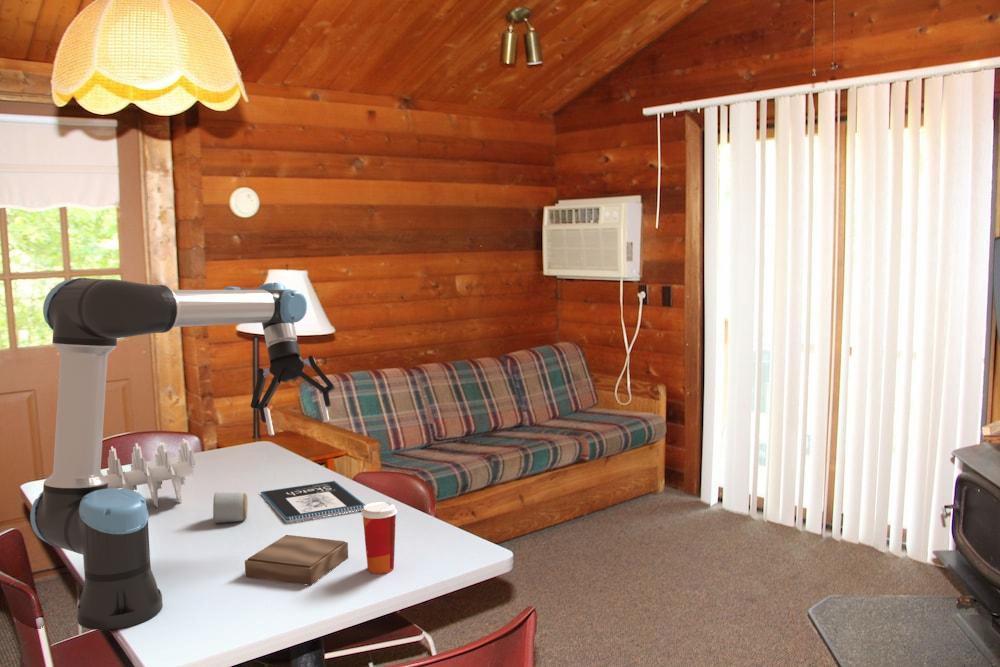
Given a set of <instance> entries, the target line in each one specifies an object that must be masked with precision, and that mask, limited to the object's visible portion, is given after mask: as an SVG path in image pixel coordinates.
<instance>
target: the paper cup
mask: <svg viewBox="0 0 1000 667" xmlns="http://www.w3.org/2000/svg"><path fill="white" fill-rule="evenodd" d="M397 513H398V509H396V506H395V504H392V503H390V502H386V501H378V502H371V503H370V502H369V503H367V504H365V506H364V507H363V511H361V512H360V515H361V516H362V522H363V531H364V542H365V543H364V544H365V555H366V564H367V572H369V573H370V574H373V575H384V574H388V573H390V572H392V571H394V568H395V567H394V566H395V550H396V549H395V545H396V517H397Z"/></svg>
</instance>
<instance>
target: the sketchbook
mask: <svg viewBox="0 0 1000 667" xmlns="http://www.w3.org/2000/svg"><path fill="white" fill-rule="evenodd" d="M260 495H262V497H263V498H264V499H265V500H266V501H267V503H268V502H269V503H268V504H269V505H270V506H271V507H272V508H273V510H274V509H275V510H274V511H275V512H276V513H277V514H278V515H279V517H280V518H281V517H282V518H283V519H284V520H283V519H282V518H281V519H282V520H283V521H284V522H285V524H287V523H288V524H290V525H292V523H293V522H294V524H297V523H298V522H297V521H299V523H300V522H301V523H303V522H305V521H306V522H307V521H309V520H310V519H311V520H310V521H314V519H313V518H317V519H319V518H320V517H322V518H323V519H324V518H325V517H326V516H328V515H332V517H333V515H334V514H335V515H336V514H338V515H339V513H341V514H342V513H344V512H345V513H346V512H348V513H347V514H350V513H349V511H351V512H352V511H354V512H355V511H356V510H357V511H358V510H360V511H361V510H362V509H363V507H364V506H365V505H366V504H365V503H364V502H363V501H361V500H360V499H359V498H358V497H356V496H355V495H353V494H352V493H351V492H349V490H347V489H345V488H344V487H343V486H341V484H339V483H338V482H336V481H335V480H332V481H326V482H316V483H312V484H304V485H303V484H302V485H298V486H292V487H291V486H290V487H283V488H277V489H271V490H264V491H263V490H262V491H261V492H260ZM360 511H359V512H360ZM354 512H353V513H354ZM361 512H362V511H361ZM355 513H356V512H355ZM338 515H336V516H338ZM342 515H343V514H342ZM323 516H325V517H323ZM339 516H340V515H339ZM318 517H319V518H318ZM322 518H320V519H322ZM326 518H327V517H326ZM307 519H309V520H307ZM303 520H305V521H303ZM291 522H292V523H291Z"/></svg>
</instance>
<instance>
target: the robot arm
mask: <svg viewBox="0 0 1000 667" xmlns="http://www.w3.org/2000/svg"><path fill="white" fill-rule="evenodd" d="M307 311H308V303H307V299H306V297H305V295H304V294H303V293H302V292H301V291H299V290H294V289H293V290H292V289H290V288H289V289H287V288H286V286H285V285H284V284H283V283H281V282H268V283H264V284H261V285H260V286H258V287H257V288H246V287H239V286H226V287H224V288H222V289H171V287H169V286H168V285H167V284H166V285H165V284H151V283H150V284H148V283H140V282H135V281H127V280H123V279H122V280H121V279H115V278H114V279H113V278H111V279H109V278H108V279H106V278H87V277H76V278H71V279H70V278H69V279H66V280H63V281H61V282H59V283H58V284H56V285H55V286H54V287H52V289H50V291H49V292H48V293H47V294H46V296H45V299H44V302H43V307H42V314H43V320H44V321H45V323H46V324H47V325H48V327H49V328H50V329H51V330H52V346H53V347H54V348H55V349H56V350H57V351H58V352H59V355H60V356H59V357H60V358H59V368H58V369H59V370H58V371H59V372H58V386H57V387H58V388H57V404H56V418H55V420H56V422H55V436H54V450H53V451H54V452H53V469H52V473H51V475H49V476H48V477H47V478H46V479H45V480H44V481H43V486H42V487H43V490H42V491H41V493H39V496H38V497H37V498H35V500H34V501H33V503H32V506H31V509H30V516H29V517H30V518H29V519H30V520H29V521H30V524H31V527H32V531H34V534H36V536H37V537H38V538H39V539H40V540H42V541H43V542H45V543H47V544H48V545H50V546H52V547H54V548H58V549H63V550H66V551H70V552H73V553H76V554H79V555H82V557H83V570H84V571H83V573H84V582H83V586H82V589H81V593H80V597H79V602H78V604H77V607H76V617H77V618H76V619H77V624H78V625H79V626H81V627H82V628H85V629H88V630H93V631H96V630H97V631H109V630H117V629H118V630H119V629H123V628H127V627H131V626H136V625H138V624H141V623H143V622H146V621H148V620H150V619H152V618H154V617H155V616H157V615H158V614H159V613H160V612H161V611H162V608H163V606H164V605H163V593H162V591H161V589H160V588H158V585H157V581H156V578H155V575H154V573H153V571H152V566H151V552H150V551H151V549H150V534H149V532H150V531H149V517H150V516H149V511H148V506H147V501H146V498H145V497H144V496H143V495H142V494H141V493H140V492H138V491H137V490H129V489H123V488H119V489H117V488H108V480H107V479H106V478H105V477H104V476H105V475H104V474H102V472H101V471H102V470H101V469H102V468H101V467H102V452H103V439H104V423H105V422H104V420H105V418H104V417H105V407H106V406H105V405H106V388H107V372H108V357H109V354H111V353H112V352H113V351H114V350H115V349H116V348H117V345H118V342H117V341H118V339H124V338H131V337H137V336H143V335H151V334H152V335H153V334H163V333H168V332H170V331H171V330H173V328H177V327H178V328H181V327H183V328H184V327H200V326H201V327H202V326H204V327H205V326H219V325H224V326H225V325H238V324H240V325H241V324H262V331H263V334H264V339H265V344H266V347H267V354H268V360H269V368H268V367H267V368H262V367H259V368H258V369H257V376H258V377H257V381H256V384H255V388H254V392H253V396H252V399H251V403H250V407H251V408H252V409H253V410H258V411H259V415H260V420H261V422H262V423H263V424H266V427H267V431H268V432H267V433H268V435H269V436H275V431H274V427H273V421H272V417H271V416H272V415H271V411H270V408H268V405H269V403H270V402H271V400H272V398H273V396H274V394H276V391H277V389H278V388H279V386H280V385H281V384H282V383H289V382H290V381H297V380H298V379H299V378H301V379H303V380H304V381H306V382H307V383H308V384H309V385H311V386H312V387H314V388H315V389H316V390H318V391H320V392H321V393H319V400H320V404H321V408H322V414H323V419H324V421H326V423H327V422H330V421H331V420H330V416H329V410H328V408H329V407H331V397H330V395H329V394H330V392H332V391H334V390H335V389H336V386H335V385H334V384H333V382H332V381H331V380H330V379H329V378H328V377H327V376H326V374H325V373H324V372H323V370H321V368H320V367H319V366H318V364H317V361H316V359H315V357H314V356H312V355H309V356H308V357H307V358H305V359H302V356H301V355H302V354H301V350H300V346H299V342H297V341H298V336H297V332H296V327H295V323H298V322H300V321H302V320H303V319H304V317H305V316H306V314H307ZM305 366H308V367H310V368H312V369H313V370H314V372H315V373H316V374H317V375H318V376H319V378H320V379H321V380H322V381H323V382H324V383H325V385H326V386H323V385H322V384H320V383H319V382H317V381H316V380H315V379H313V378H312V377H311V376H309V375H308V374H306V373H305V372H304V371H303V369H304V368H305ZM269 374H271V375H273V377H272V379H271V381H270V382H271V383H270V384H269V385H268V387H267V389H266V391H265V393H264V395H263V397H262V394H263V391H264V387H265V383H266V381H267V378H268V377H269Z"/></svg>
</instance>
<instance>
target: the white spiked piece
mask: <svg viewBox="0 0 1000 667" xmlns="http://www.w3.org/2000/svg"><path fill="white" fill-rule="evenodd" d="M132 451H133V452H131V464H130V471H123V465H121V459H120V458H118V456H117V449H116V448H114V446H110V449H109V450H108V457H106V458H107V466H108V469H107V470H106V474H107V475H103V476H104V477H105V478H106V479H107V480H108V488H117V489H122V488H123V489H129V490H133V491H137V490H138V486H140V485H145V484H146V485H147V486H148V489H149V491H150V496H151V501H152V502H153V506H155V507H157V508H159V504H158V502H159V500H158V496H159V495H158V490H159V489H162V485H163V481H168V480H171V483H172V486H173V488H174V493H175V498H176V499H177V502H178V503H179V504H180V503H181V504H182V493H181V492H182V485H185V483H186V482H185V481H186V477H190V476H191V477H192V476H194V468H195V465H196V458H195V454H194V449H191V447H190V442H189V439H185V438H182V442H180V443H179V449H178V454H177V455H178V461H177V462H176V463H172V462H171V457H170V452H169V450H167V449H166V444H165V441H164V442H161V441H160V442H159V443H158V445H157V447H156V453H157V454H156V453H155V465H156V466H154V467H152V466H151V467H149V466H148V465H147V461H146V457H143V452H142V448H141V446H140V445H139V443H138V442H137V443H136V442H135V446H133V447H132Z"/></svg>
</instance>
